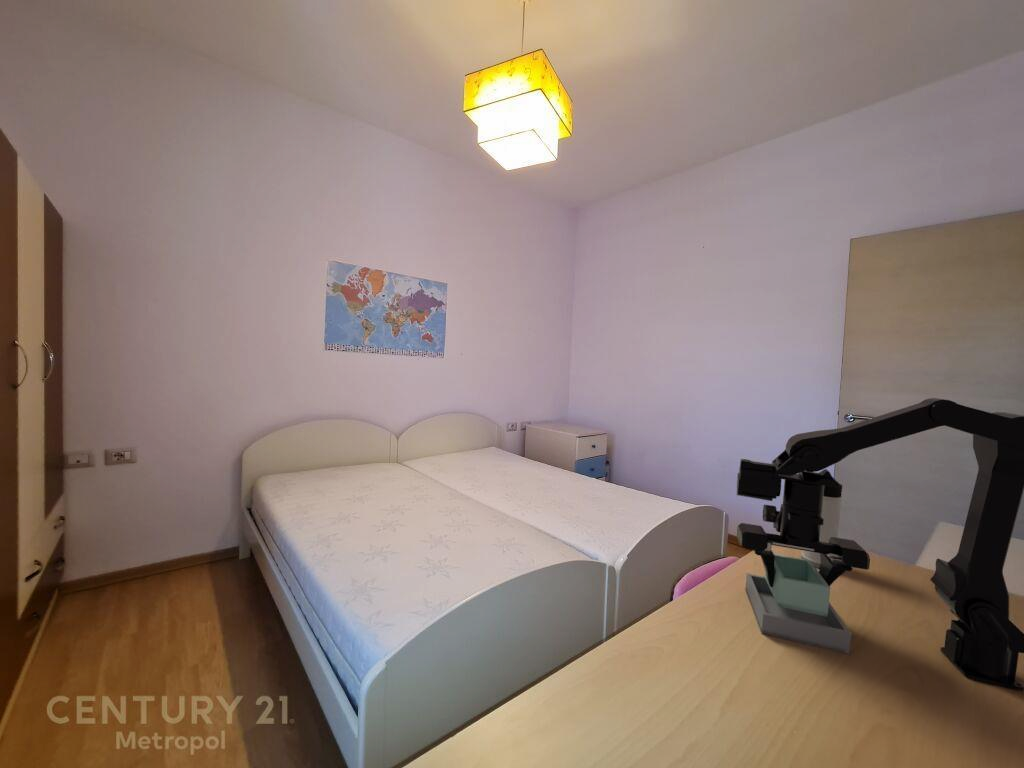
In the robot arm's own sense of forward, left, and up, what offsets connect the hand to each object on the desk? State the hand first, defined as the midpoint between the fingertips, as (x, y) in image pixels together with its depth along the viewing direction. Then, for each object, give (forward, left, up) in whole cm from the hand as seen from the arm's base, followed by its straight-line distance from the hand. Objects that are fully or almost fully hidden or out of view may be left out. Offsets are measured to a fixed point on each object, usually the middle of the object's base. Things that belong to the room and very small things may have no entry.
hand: (794, 590), depth 73 cm
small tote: (0, 0, -1) cm, 1 cm away
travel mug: (-12, -27, -5) cm, 30 cm away
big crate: (0, 0, -5) cm, 5 cm away
